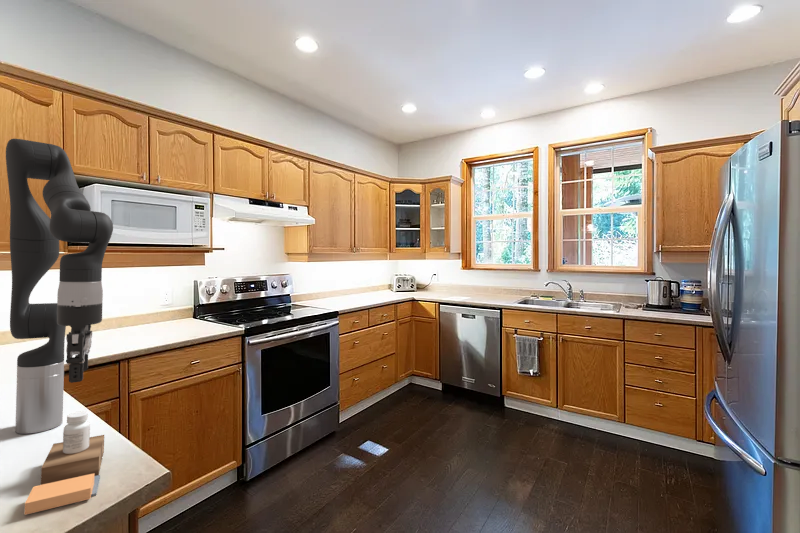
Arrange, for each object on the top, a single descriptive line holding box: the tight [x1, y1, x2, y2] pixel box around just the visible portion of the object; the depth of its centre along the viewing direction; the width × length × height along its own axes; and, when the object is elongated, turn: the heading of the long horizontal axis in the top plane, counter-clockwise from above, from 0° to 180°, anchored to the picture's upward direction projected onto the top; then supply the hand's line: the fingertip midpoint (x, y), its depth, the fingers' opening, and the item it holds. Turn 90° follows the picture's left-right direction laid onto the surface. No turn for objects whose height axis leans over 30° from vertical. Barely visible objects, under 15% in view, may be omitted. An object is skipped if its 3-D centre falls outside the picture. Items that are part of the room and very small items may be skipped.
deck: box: [40, 434, 105, 485], centre depth 82 cm, size 12×9×4 cm
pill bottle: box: [62, 410, 91, 454], centre depth 82 cm, size 4×4×8 cm
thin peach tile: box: [24, 473, 95, 516], centre depth 71 cm, size 6×9×2 cm, turn 123°
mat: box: [91, 474, 101, 497], centre depth 74 cm, size 8×8×1 cm
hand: (78, 376), depth 82 cm, fingers open, 8 cm apart
